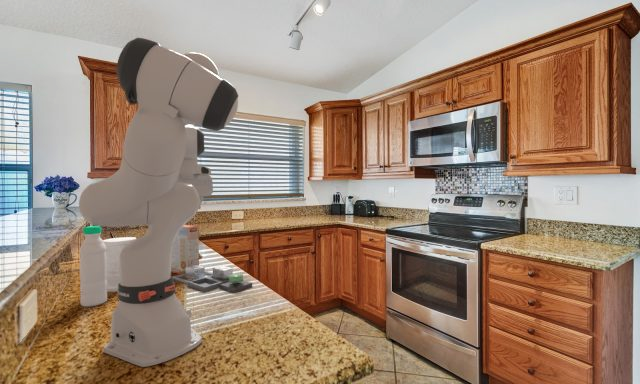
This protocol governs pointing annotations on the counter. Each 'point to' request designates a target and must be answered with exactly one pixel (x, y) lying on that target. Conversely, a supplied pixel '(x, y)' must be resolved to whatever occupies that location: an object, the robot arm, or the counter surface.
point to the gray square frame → (185, 275)
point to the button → (235, 278)
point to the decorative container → (114, 260)
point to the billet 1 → (195, 272)
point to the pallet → (206, 283)
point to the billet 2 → (222, 273)
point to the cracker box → (185, 249)
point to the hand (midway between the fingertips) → (184, 210)
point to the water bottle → (93, 268)
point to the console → (235, 286)
